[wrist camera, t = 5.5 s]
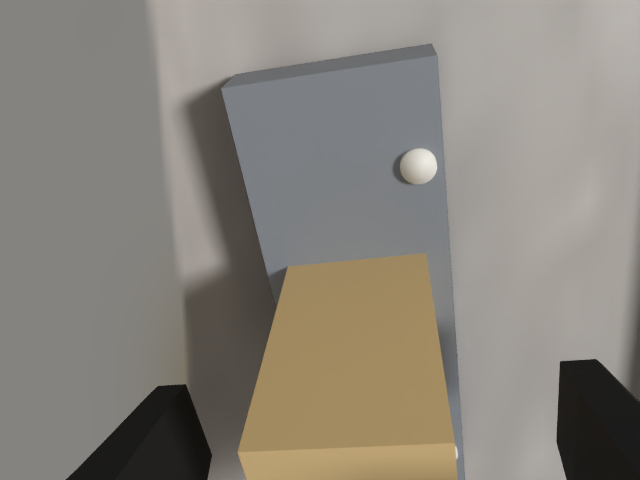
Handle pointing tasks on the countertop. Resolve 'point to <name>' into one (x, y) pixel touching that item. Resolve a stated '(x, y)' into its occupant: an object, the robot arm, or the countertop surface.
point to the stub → (351, 269)
